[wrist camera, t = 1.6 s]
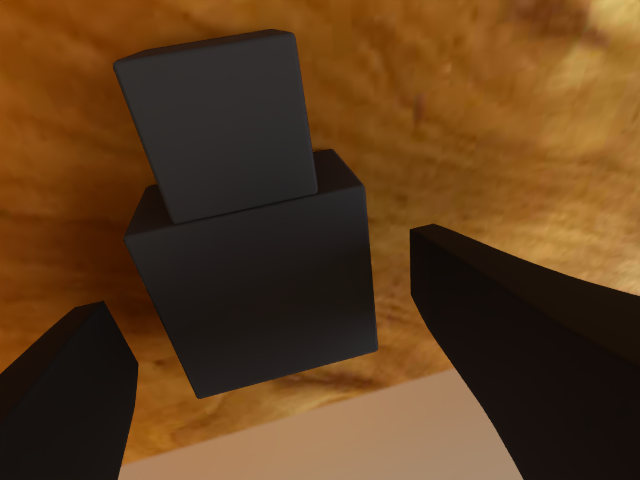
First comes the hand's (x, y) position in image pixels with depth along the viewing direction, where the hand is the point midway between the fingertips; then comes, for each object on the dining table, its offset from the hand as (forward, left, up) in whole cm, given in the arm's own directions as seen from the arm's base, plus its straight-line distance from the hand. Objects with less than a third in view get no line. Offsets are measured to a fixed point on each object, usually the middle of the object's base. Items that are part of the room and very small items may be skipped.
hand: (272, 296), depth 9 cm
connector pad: (+1, +1, -3) cm, 3 cm away
